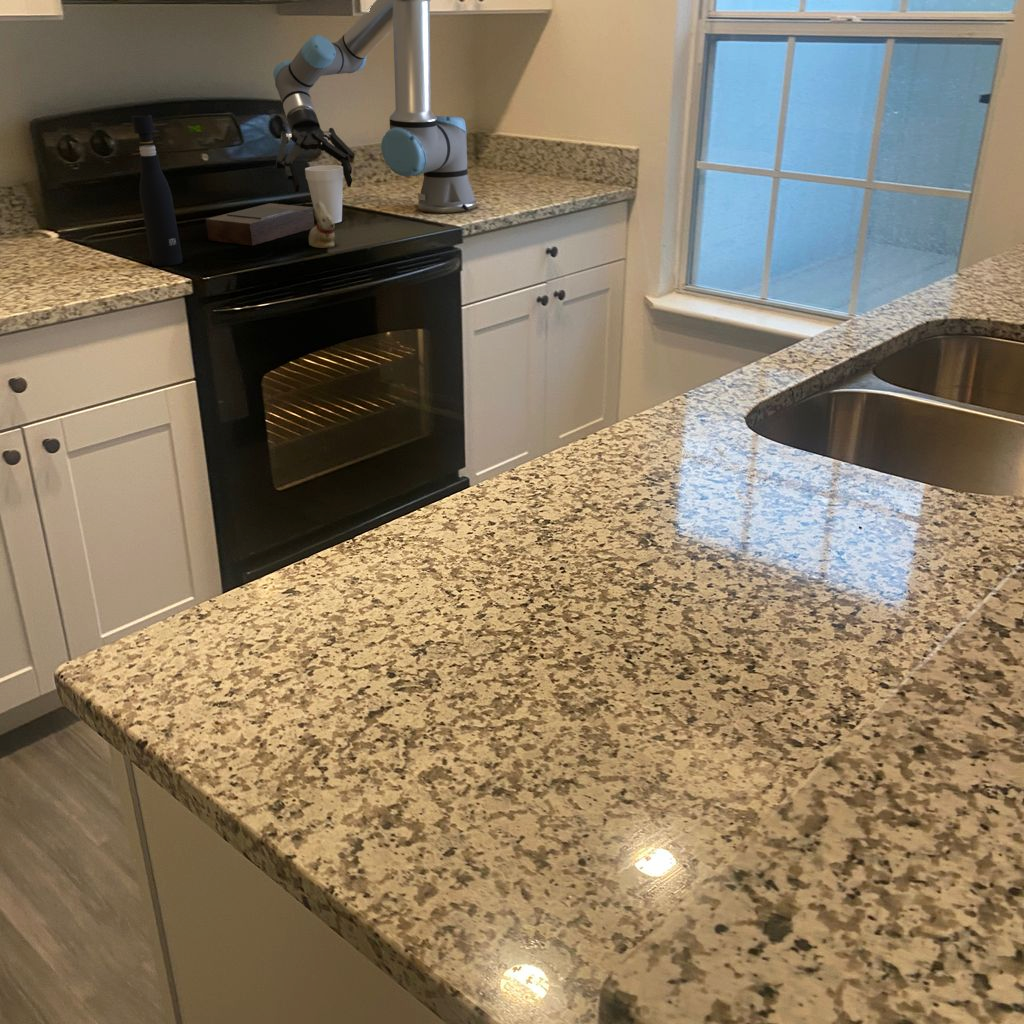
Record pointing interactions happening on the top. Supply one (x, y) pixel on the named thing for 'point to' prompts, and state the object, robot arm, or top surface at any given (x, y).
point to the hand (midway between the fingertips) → (324, 186)
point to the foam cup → (327, 188)
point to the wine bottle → (156, 200)
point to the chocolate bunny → (322, 228)
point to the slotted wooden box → (260, 224)
